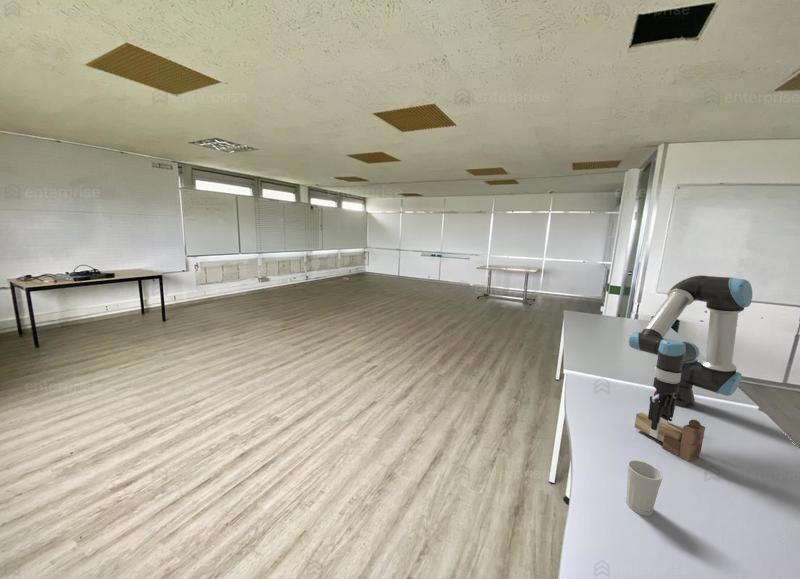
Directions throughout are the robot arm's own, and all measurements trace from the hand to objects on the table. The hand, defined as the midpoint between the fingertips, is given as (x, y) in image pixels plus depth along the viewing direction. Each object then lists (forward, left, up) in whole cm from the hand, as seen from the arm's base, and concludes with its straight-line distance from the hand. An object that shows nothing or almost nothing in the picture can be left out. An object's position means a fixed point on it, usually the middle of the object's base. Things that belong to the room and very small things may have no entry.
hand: (657, 435), depth 125 cm
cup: (+42, +20, -2) cm, 46 cm away
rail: (0, 0, 0) cm, 0 cm away
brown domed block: (0, +8, -2) cm, 8 cm away
